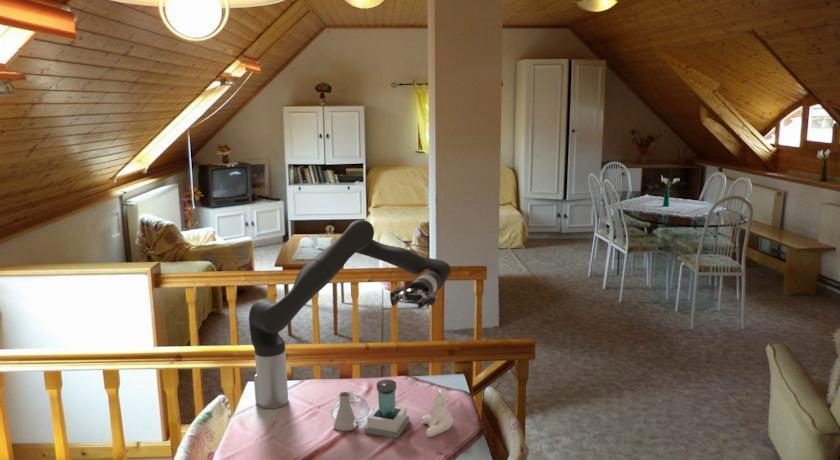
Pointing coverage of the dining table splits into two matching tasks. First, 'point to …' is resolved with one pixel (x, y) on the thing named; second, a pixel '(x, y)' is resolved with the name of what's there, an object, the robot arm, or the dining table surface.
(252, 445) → the dining table surface
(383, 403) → the teal capped jar
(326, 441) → the dining table surface
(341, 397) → the flask
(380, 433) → the dock
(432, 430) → the seated beast figurine
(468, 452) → the dining table surface
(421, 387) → the dining table surface
